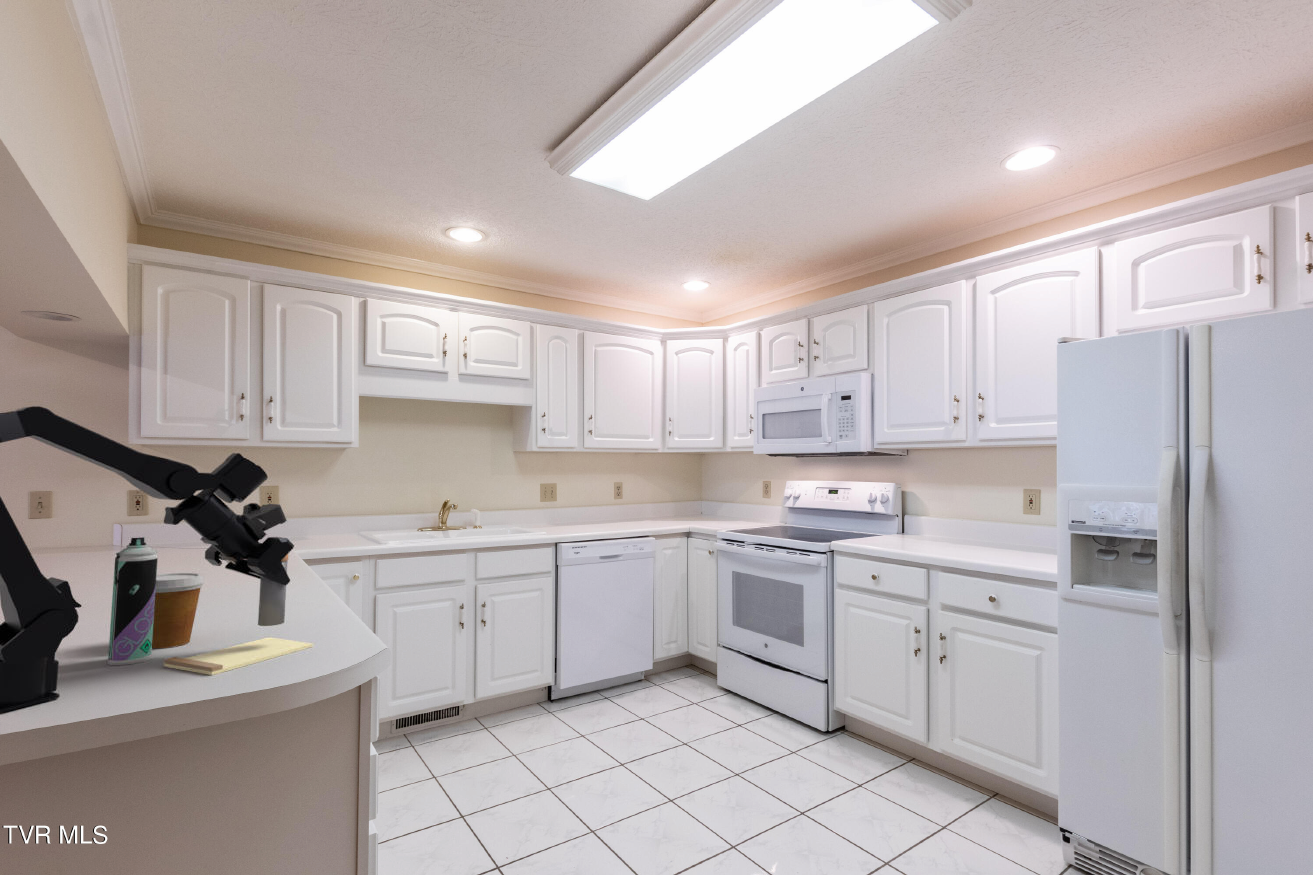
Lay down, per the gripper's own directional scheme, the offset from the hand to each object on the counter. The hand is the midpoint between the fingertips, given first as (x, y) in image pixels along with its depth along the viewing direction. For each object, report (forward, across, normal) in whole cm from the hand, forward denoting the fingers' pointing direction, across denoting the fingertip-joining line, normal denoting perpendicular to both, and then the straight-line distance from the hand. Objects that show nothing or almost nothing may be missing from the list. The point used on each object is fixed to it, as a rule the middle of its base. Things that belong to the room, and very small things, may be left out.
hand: (281, 581), depth 114 cm
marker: (+4, 0, +6) cm, 7 cm away
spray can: (-4, +11, +21) cm, 24 cm away
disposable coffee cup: (+1, +18, +15) cm, 23 cm away
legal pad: (+4, -1, +12) cm, 13 cm away
